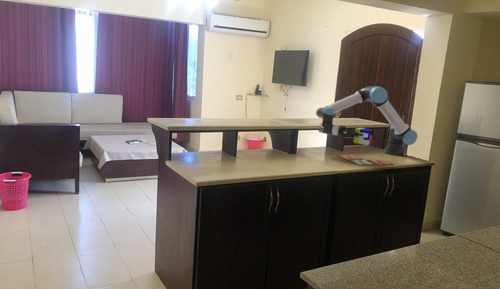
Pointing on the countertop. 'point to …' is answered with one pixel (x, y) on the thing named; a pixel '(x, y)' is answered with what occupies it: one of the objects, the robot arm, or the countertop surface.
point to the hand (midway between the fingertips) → (370, 134)
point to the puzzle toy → (363, 139)
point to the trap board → (364, 162)
